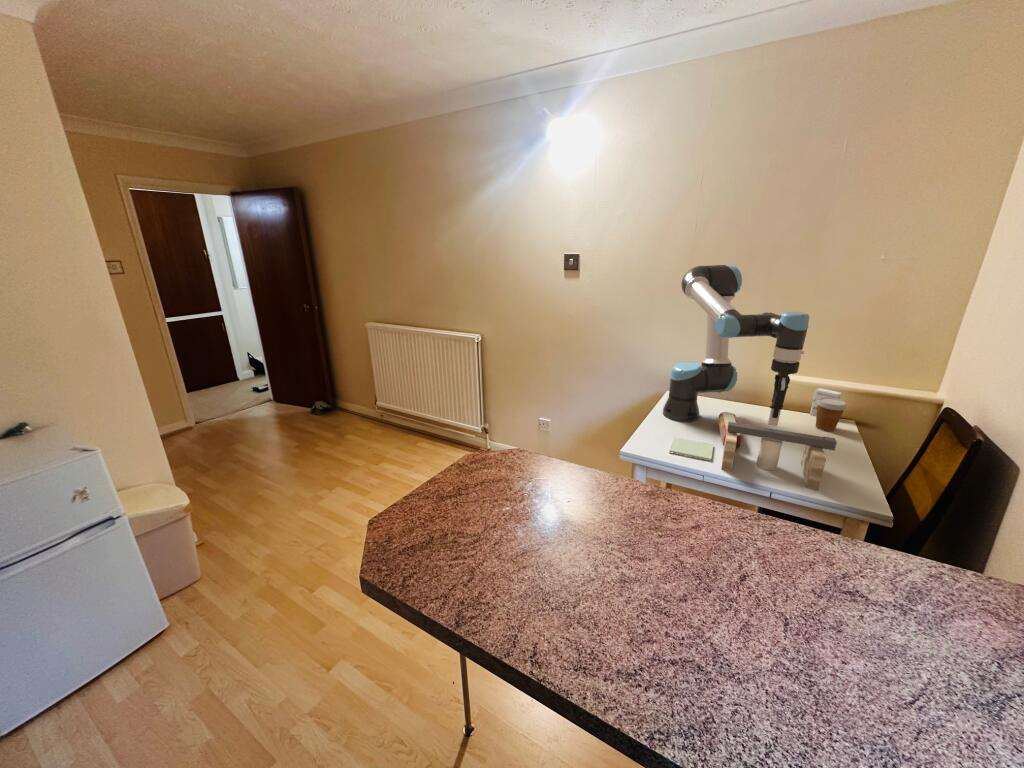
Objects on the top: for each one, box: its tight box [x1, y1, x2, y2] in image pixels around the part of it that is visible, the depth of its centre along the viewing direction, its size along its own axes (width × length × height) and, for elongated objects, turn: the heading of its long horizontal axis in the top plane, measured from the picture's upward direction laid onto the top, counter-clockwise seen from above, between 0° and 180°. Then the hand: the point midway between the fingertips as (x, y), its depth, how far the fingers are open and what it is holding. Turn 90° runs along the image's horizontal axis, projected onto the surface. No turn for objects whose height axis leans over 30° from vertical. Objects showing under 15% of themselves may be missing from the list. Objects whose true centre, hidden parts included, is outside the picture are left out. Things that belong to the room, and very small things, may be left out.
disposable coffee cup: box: [815, 397, 847, 432], centre depth 162 cm, size 10×10×12 cm
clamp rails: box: [721, 426, 827, 491], centre depth 136 cm, size 16×27×11 cm, turn 61°
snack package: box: [717, 411, 743, 449], centre depth 158 cm, size 21×7×7 cm, turn 159°
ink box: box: [809, 387, 843, 417], centre depth 173 cm, size 9×5×12 cm, turn 38°
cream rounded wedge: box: [756, 437, 784, 472], centre depth 136 cm, size 6×6×10 cm
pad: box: [669, 436, 715, 462], centre depth 150 cm, size 12×14×1 cm
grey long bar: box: [727, 422, 837, 451], centre depth 133 cm, size 3×30×3 cm, turn 61°
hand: (772, 424), depth 139 cm, fingers closed
